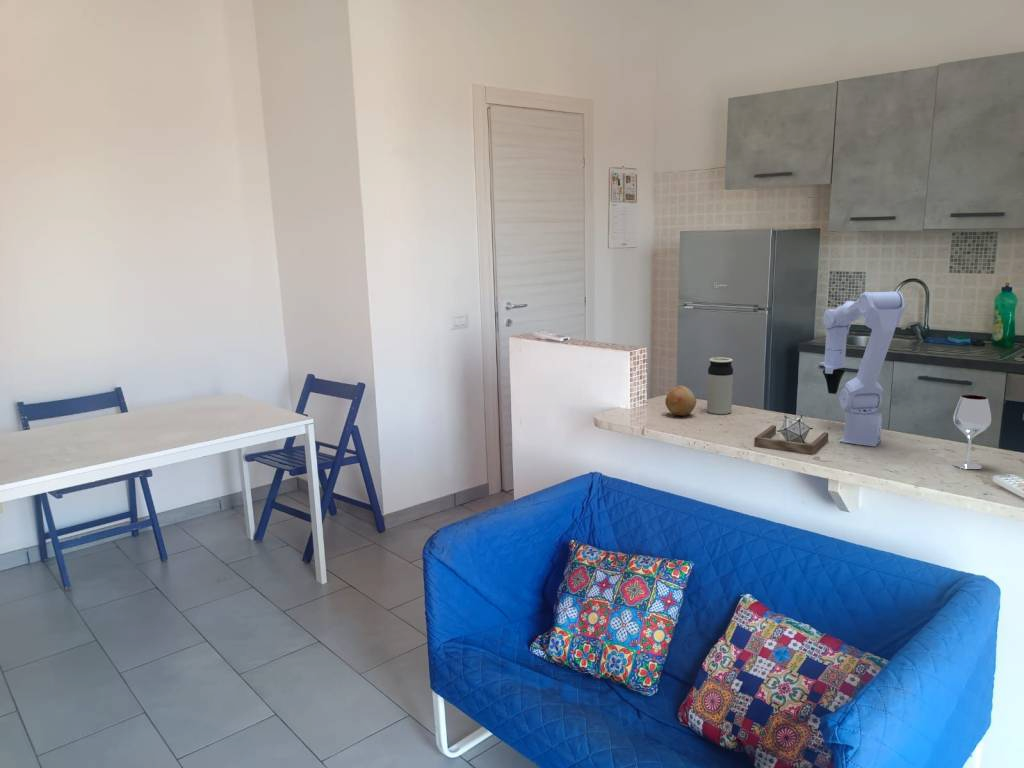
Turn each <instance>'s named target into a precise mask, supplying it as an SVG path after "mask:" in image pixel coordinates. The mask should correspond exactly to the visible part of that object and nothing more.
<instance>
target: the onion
mask: <svg viewBox="0 0 1024 768" xmlns="http://www.w3.org/2000/svg"><path fill="white" fill-rule="evenodd" d="M664 402H665V406H666V408H667V410H668V411H669V412H670V413H671V414H673V415H675V416H683V417H684V416H688V415H689V414H690V413H692V412H693V411H694V410H695V407H696V405H697V398H696V395H695V394H694V393H693V391H692V390H691V389H690V388H688V387H687V386H684V385H676V386H675V387H673V388H672V389H671V390H670V391H669V392H668V393H667V395H666V398H665V401H664Z"/></svg>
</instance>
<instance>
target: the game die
mask: <svg viewBox="0 0 1024 768" xmlns="http://www.w3.org/2000/svg"><path fill="white" fill-rule="evenodd" d="M784 418H785V419H784V421H783V423H782V426H781V427H780V429H777V430H776V433H779V432H780V433H781V434H782V436H783V438H784V439H785V441H790V442H798V443H805V444H806V438H807V436H808V434H809V432H810V430H813V429H814V427H810V426H809V425H808V423H807V422H806V421H805V420H804V419H803V414H801V415H800V416H799V417H798V416H797V417H793V416H792V417H790V416H789V417H787V415H784Z"/></svg>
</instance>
